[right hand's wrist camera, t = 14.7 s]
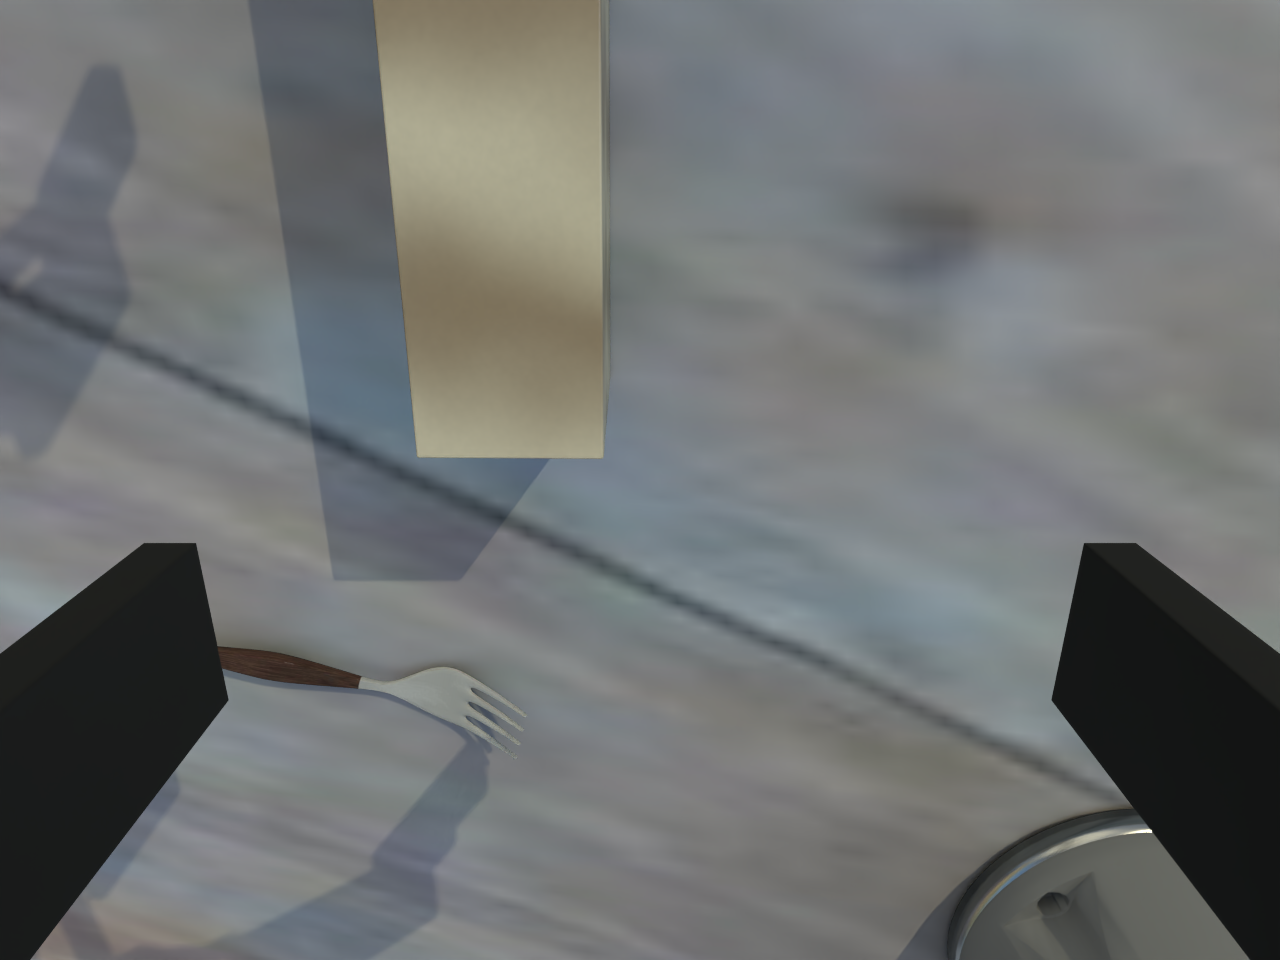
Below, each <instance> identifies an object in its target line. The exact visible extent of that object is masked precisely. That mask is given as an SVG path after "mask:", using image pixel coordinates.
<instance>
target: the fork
mask: <svg viewBox="0 0 1280 960" xmlns="http://www.w3.org/2000/svg"><path fill="white" fill-rule="evenodd" d="M217 647H218V652H219V657H220V662H221V666H222V668H223V669H226V670H230V671H234V672H237V673H241V674H245V675H249V676H253V677H257V678H262V679H267V680H272V681H279V682H287V683H297V684H308V685H320V686H333V687H346V688H357V689H367V690H375V691H381V692H385V693H388V694H391V695H394V696H396V697H399V698H401V699H403V700H405V701H407V702H409V703H411V704H412V705H414V706H416V707H418V708H420V709H422V710H424V711H426V712H428V713H430V714H432V715H434V716H437V717H439V718H441V719H444V720H446V721H449V722H451V723H453V724H456V725H458V726H461V727H463V728H465V729H467V730H469V731H471V732H473V733H474V734H476V735H478V736H480V737H481V738H483V739H485V740H486V741H488V742H490V743H491V744H493V745H494V746H496V747H498V748H499V749H501V750H502V751H504V752H505V753H507V754H508V755H510V756H511V757H512V758H513V759H517V756H516V755H515V754H514V753H513V752H511V751H510V750H509V749H507V748H506V747H505V746H504V745H502V744H501V743H499V742H498V741H497V740H495V739H494V738H493V737H491V736H490V735H488V734H487V733H486V732H484V731H483V730H481V729H480V728H478V727H477V726H475V725H474V724H472V723H471V722H470V721H468V720H467V719H466V716H470V717H472V718H474V719H476V720H478V721H480V722H482V723H483V724H485V725H487V726H488V727H490V728H492V729H494V730H495V731H497V732H498V733H500V734H502V735H503V736H505V737H506V738H508V739H509V740H511V741H512V742H514V743H515V744H516V745H520V744H521V743H520V742H519V741H518V740H517V739H515V738H514V737H513V736H511V735H510V734H509V733H507V732H506V731H505V730H503V729H502V728H501V727H499V726H498V725H496V724H495V723H494V722H492V721H491V720H489V719H488V718H487V717H485V716H484V715H482V714H481V713H479V712H478V711H476V710H475V709H473V708H472V707H471V706H470V705H469V704H468V702H472V703H475V704H477V705H479V706H481V707H482V708H484V709H486V710H488V711H489V712H491V713H493V714H494V715H496V716H498V717H500V718H501V719H503V720H504V721H506V722H508V723H509V724H511V725H512V726H514V727H515V728H517V729H518V730H520V731H523V730H524V729H523V728H522V727H521V726H520V725H518V724H517V723H516V722H514V721H513V720H512V719H510V718H509V717H508V716H506V715H505V714H503V713H502V712H501V711H499V710H498V709H496V708H495V707H494V706H492V705H491V704H489V703H488V702H486V701H485V700H483V699H482V698H480V697H479V696H477V695H476V694H475V693H473V692H472V690H471V688H475V689H477V690H480V691H482V692H483V693H485V694H487V695H489V696H491V697H492V698H494V699H496V700H498V701H499V702H501V703H503V704H504V705H506V706H508V707H509V708H511V709H513V710H514V711H516V712H517V713H519V714H520V715H522V716H523V717H527V714H526V713H525V712H523V711H522V710H521V709H519V708H518V707H516V706H515V705H514V704H512V703H511V702H509V701H508V700H507V699H505V698H504V697H502V696H501V695H500V694H498V693H497V692H495V691H494V690H492V689H491V688H489V687H488V686H486V685H484V684H483V683H481V682H479V681H478V680H476V679H474V678H473V677H471V676H469V675H468V674H466V673H464V672H462V671H460V670H457V669H454V668H450V667H435V668H430V669H427V670H424V671H421V672H418V673H415V674H413V675H410V676H407V677H405V678H402V679H399V680H395V681H378V680H373V679H369V678H366V677H362V676H359V675H355V674H352V673H349V672H345V671H342V670H339V669H335V668H332V667H329V666H325V665H322V664H319V663H315V662H312V661H308V660H305V659H301V658H298V657H294V656H290V655H285V654H281V653H275V652H269V651H261V650H252V649H241V648H230V647H219V646H217Z"/></svg>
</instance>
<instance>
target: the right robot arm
mask: <svg viewBox="0 0 1280 960" xmlns="http://www.w3.org/2000/svg"><path fill="white" fill-rule="evenodd" d="M227 701H228V695H227V690H226V686H225V681H224V676H223V671H222V666H221V662H220V657H219V652H218V647H217V642H216V637H215V633H214V628H213V623H212V618H211V613H210V609H209V604H208V599H207V594H206V589H205V585H204V580H203V575H202V570H201V565H200V560H199V556H198V551H197V546H196V543H144V544H142V545H141V546H140V547H139V548H137V549H136V550H135V551H133V552H132V553H131V554H129V555H128V556H127V557H126V558H124V559H123V560H122V561H120V562H119V563H118V564H116V565H115V566H114V567H113V568H111V569H110V570H109V571H107V572H106V573H105V574H103V575H102V576H101V577H100V578H98V579H97V580H96V581H94V582H93V583H92V584H90V585H89V586H88V587H87V588H85V589H84V590H83V591H81V592H80V593H79V594H77V595H76V596H75V597H74V598H72V599H71V600H70V601H68V602H67V603H66V604H64V605H63V606H62V607H61V608H59V609H58V610H57V611H55V612H54V613H53V614H51V615H50V616H49V617H48V618H46V619H45V620H44V621H42V622H41V623H40V624H38V625H37V626H36V627H35V628H33V629H32V630H31V631H29V632H28V633H27V634H25V635H24V636H23V637H22V638H20V639H19V640H18V641H16V642H15V643H14V644H12V645H11V646H10V647H9V648H7V649H6V650H5V651H3V652H2V653H1V654H0V960H30V959H31V958H32V957H33V955H34V954H35V953H36V951H37V950H38V949H39V947H40V946H41V945H42V944H43V942H44V941H45V940H46V938H47V937H48V936H49V934H50V933H51V932H52V930H53V929H54V928H55V927H56V925H57V924H58V923H59V921H60V920H61V919H62V917H63V916H64V915H65V913H66V912H67V911H68V910H69V908H70V907H71V906H72V904H73V903H74V902H75V900H76V899H77V898H78V896H79V895H80V894H81V893H82V891H83V890H84V889H85V887H86V886H87V885H88V883H89V882H90V881H91V879H92V878H93V877H94V876H95V874H96V873H97V872H98V870H99V869H100V868H101V866H102V865H103V864H104V862H105V861H106V860H107V858H108V857H109V856H110V855H111V853H112V852H113V851H114V849H115V848H116V847H117V845H118V844H119V843H120V841H121V840H122V839H123V838H124V836H125V835H126V834H127V832H128V831H129V830H130V828H131V827H132V826H133V824H134V823H135V822H136V821H137V819H138V818H139V817H140V815H141V814H142V813H143V811H144V810H145V809H146V807H147V806H148V805H149V804H150V802H151V801H152V800H153V798H154V797H155V796H156V794H157V793H158V792H159V790H160V789H161V788H162V787H163V785H164V784H165V783H166V781H167V780H168V779H169V777H170V776H171V775H172V773H173V772H174V771H175V770H176V768H177V767H178V766H179V764H180V763H181V762H182V760H183V759H184V758H185V756H186V755H187V754H188V753H189V751H190V750H191V749H192V747H193V746H194V745H195V743H196V742H197V741H198V739H199V738H200V737H201V736H202V734H203V733H204V732H205V730H206V729H207V728H208V726H209V725H210V724H211V722H212V721H213V720H214V718H215V717H216V716H217V715H218V713H219V712H220V711H221V709H222V708H223V707H224V705H225V704H226V703H227ZM1052 701H1053V703H1054V704H1055V705H1056V707H1057V708H1058V709H1059V711H1060V712H1061V713H1062V715H1063V716H1064V717H1065V718H1066V720H1067V721H1068V722H1069V724H1070V725H1071V726H1072V728H1073V729H1074V730H1075V732H1076V733H1077V734H1078V736H1079V737H1080V738H1081V739H1082V741H1083V742H1084V743H1085V745H1086V746H1087V747H1088V749H1089V750H1090V751H1091V753H1092V754H1093V755H1094V756H1095V758H1096V759H1097V760H1098V762H1099V763H1100V764H1101V766H1102V767H1103V768H1104V770H1105V771H1106V772H1107V773H1108V775H1109V776H1110V777H1111V779H1112V780H1113V781H1114V783H1115V784H1116V785H1117V787H1118V788H1119V789H1120V790H1121V792H1122V793H1123V794H1124V796H1125V797H1126V798H1127V800H1128V801H1129V802H1130V804H1131V805H1132V806H1133V807H1134V809H1124V810H1115V811H1108V812H1102V813H1097V814H1092V815H1088V816H1084V817H1081V818H1077V819H1074V820H1071V821H1068V822H1065V823H1062V824H1059V825H1056V826H1054V827H1052V828H1049V829H1047V830H1044V831H1042V832H1040V833H1038V834H1036V835H1034V836H1032V837H1030V838H1028V839H1027V840H1025V841H1023V842H1022V843H1020V844H1018V845H1017V846H1015V847H1014V848H1012V849H1011V850H1009V851H1008V852H1006V853H1005V854H1004V855H1002V856H1001V857H1000V858H999V859H997V860H996V861H995V862H994V863H993V864H991V865H990V866H989V867H988V868H987V869H986V870H985V871H984V872H983V873H982V874H981V875H980V876H979V877H978V878H977V879H976V881H975V882H974V883H973V884H972V885H971V887H970V888H969V889H968V891H967V892H966V894H965V895H964V897H963V898H962V900H961V902H960V904H959V905H958V907H957V909H956V911H955V914H954V916H953V919H952V922H951V925H950V929H949V934H948V941H947V954H948V960H1280V654H1279V653H1278V652H1277V651H1275V650H1274V649H1273V648H1271V647H1270V646H1269V645H1268V644H1266V643H1265V642H1264V641H1262V640H1261V639H1260V638H1258V637H1257V636H1256V635H1255V634H1253V633H1252V632H1251V631H1249V630H1248V629H1247V628H1245V627H1244V626H1243V625H1242V624H1240V623H1239V622H1238V621H1236V620H1235V619H1234V618H1232V617H1231V616H1230V615H1229V614H1227V613H1226V612H1225V611H1223V610H1222V609H1221V608H1219V607H1218V606H1217V605H1216V604H1214V603H1213V602H1212V601H1210V600H1209V599H1208V598H1206V597H1205V596H1204V595H1203V594H1201V593H1200V592H1199V591H1197V590H1196V589H1195V588H1193V587H1192V586H1191V585H1190V584H1188V583H1187V582H1186V581H1184V580H1183V579H1182V578H1180V577H1179V576H1178V575H1177V574H1175V573H1174V572H1173V571H1171V570H1170V569H1169V568H1167V567H1166V566H1165V565H1164V564H1162V563H1161V562H1160V561H1158V560H1157V559H1156V558H1154V557H1153V556H1152V555H1151V554H1149V553H1148V552H1147V551H1145V550H1144V549H1143V548H1141V547H1140V546H1139V545H1138V544H1136V543H1084V546H1083V551H1082V556H1081V560H1080V565H1079V570H1078V575H1077V580H1076V585H1075V589H1074V594H1073V599H1072V604H1071V609H1070V613H1069V618H1068V623H1067V628H1066V633H1065V637H1064V642H1063V647H1062V652H1061V657H1060V662H1059V666H1058V671H1057V676H1056V681H1055V686H1054V690H1053V695H1052Z"/></svg>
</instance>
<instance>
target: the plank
mask: <svg viewBox="0 0 1280 960" xmlns="http://www.w3.org/2000/svg"><path fill="white" fill-rule="evenodd" d="M373 10H374V20H375V31H376V41H377V51H378V61H379V72H380V82H381V92H382V103H383V113H384V123H385V133H386V144H387V154H388V164H389V174H390V185H391V195H392V205H393V216H394V226H395V236H396V246H397V257H398V267H399V277H400V287H401V298H402V308H403V318H404V329H405V339H406V349H407V359H408V370H409V380H410V390H411V400H412V411H413V421H414V431H415V441H416V452H417V457H419V458H550V459H602V458H603V457H604V446H605V434H606V422H607V410H608V398H609V386H610V122H609V0H373Z"/></svg>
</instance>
